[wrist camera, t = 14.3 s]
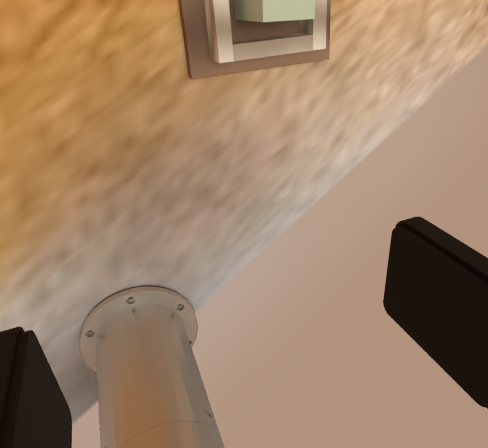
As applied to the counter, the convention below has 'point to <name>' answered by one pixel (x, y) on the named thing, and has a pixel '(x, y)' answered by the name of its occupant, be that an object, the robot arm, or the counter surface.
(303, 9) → the bar
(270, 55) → the brown rectangular tray
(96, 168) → the counter surface
